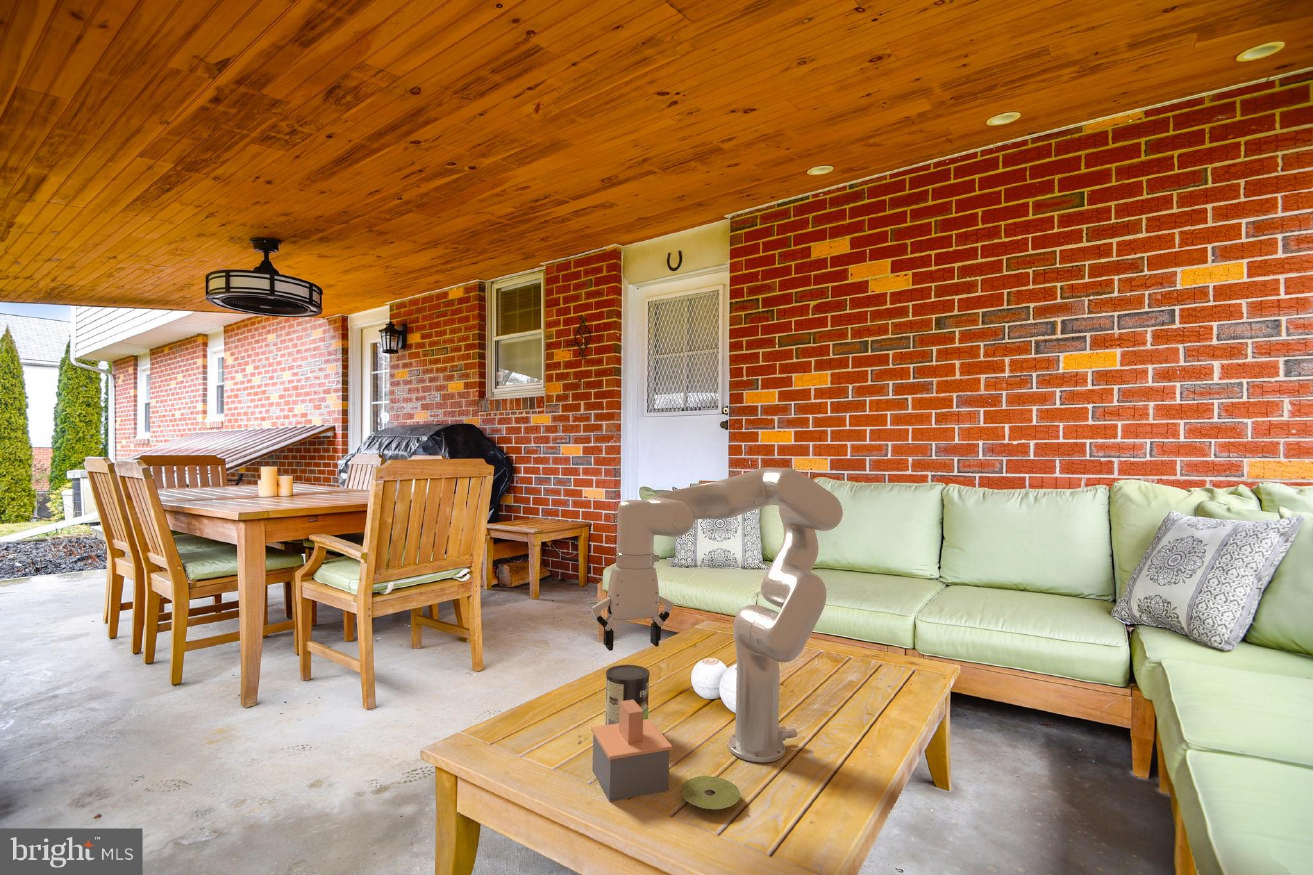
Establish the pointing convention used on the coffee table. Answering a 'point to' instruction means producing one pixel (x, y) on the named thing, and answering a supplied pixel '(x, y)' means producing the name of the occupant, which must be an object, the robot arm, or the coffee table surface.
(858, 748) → the coffee table surface
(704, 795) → the green round disc
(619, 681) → the coffee can
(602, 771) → the storage box
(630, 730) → the lid
